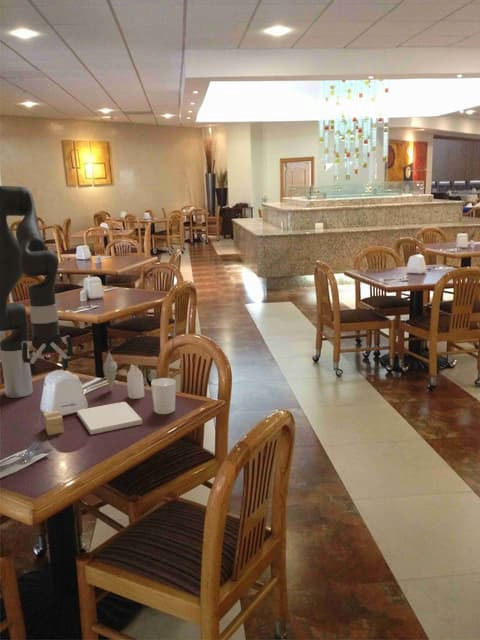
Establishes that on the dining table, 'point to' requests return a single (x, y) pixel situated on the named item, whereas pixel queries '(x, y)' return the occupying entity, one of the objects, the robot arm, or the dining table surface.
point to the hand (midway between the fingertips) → (49, 372)
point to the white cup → (163, 395)
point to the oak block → (53, 422)
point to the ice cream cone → (110, 370)
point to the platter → (108, 417)
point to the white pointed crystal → (135, 383)
